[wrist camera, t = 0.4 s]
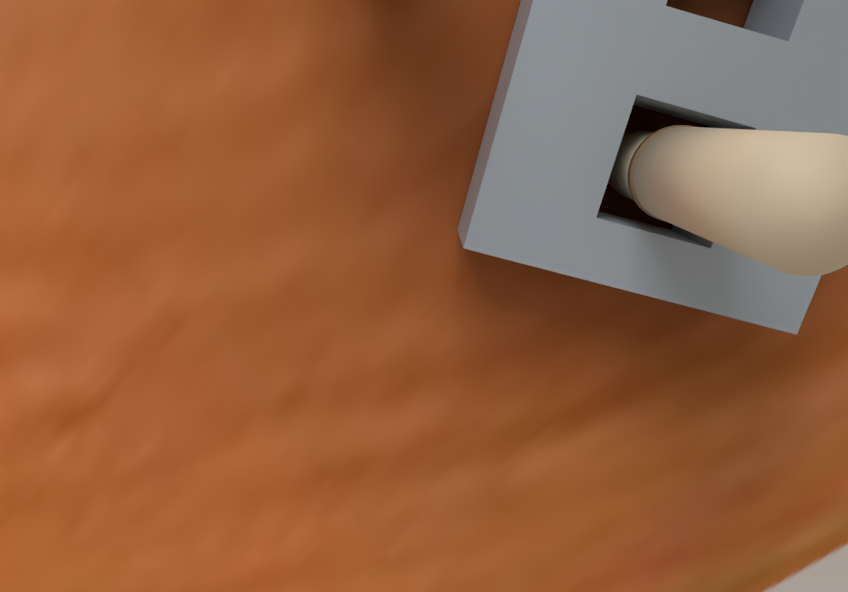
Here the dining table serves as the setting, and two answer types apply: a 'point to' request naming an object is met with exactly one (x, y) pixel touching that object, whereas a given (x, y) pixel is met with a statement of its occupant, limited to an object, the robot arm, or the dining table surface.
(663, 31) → the seat board
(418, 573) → the dining table surface
